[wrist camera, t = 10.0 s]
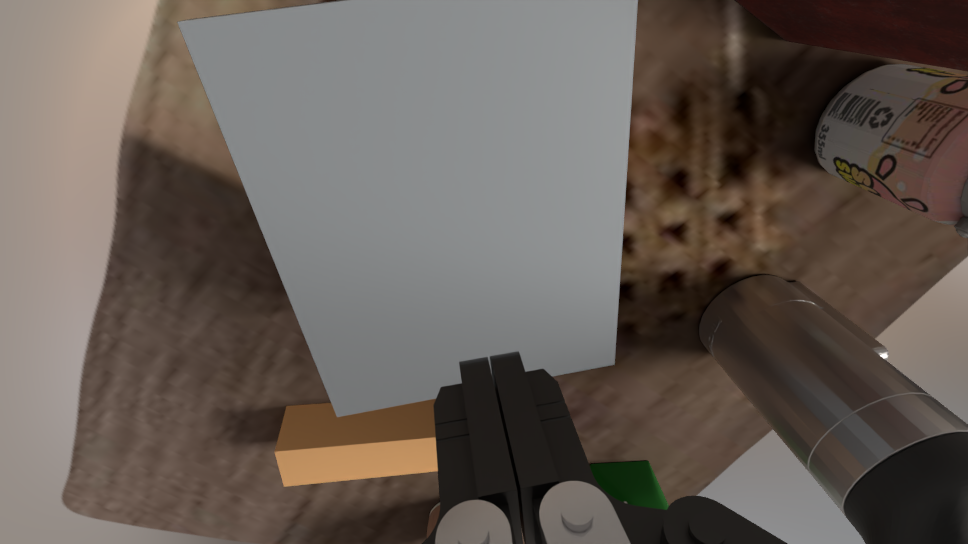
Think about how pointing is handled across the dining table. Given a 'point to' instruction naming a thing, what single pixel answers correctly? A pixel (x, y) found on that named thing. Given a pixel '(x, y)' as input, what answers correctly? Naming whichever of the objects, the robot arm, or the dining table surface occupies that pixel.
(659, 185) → the dining table surface
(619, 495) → the milk carton
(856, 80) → the beverage can
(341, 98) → the lid
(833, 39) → the decanter
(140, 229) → the dining table surface
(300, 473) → the light orange bar
